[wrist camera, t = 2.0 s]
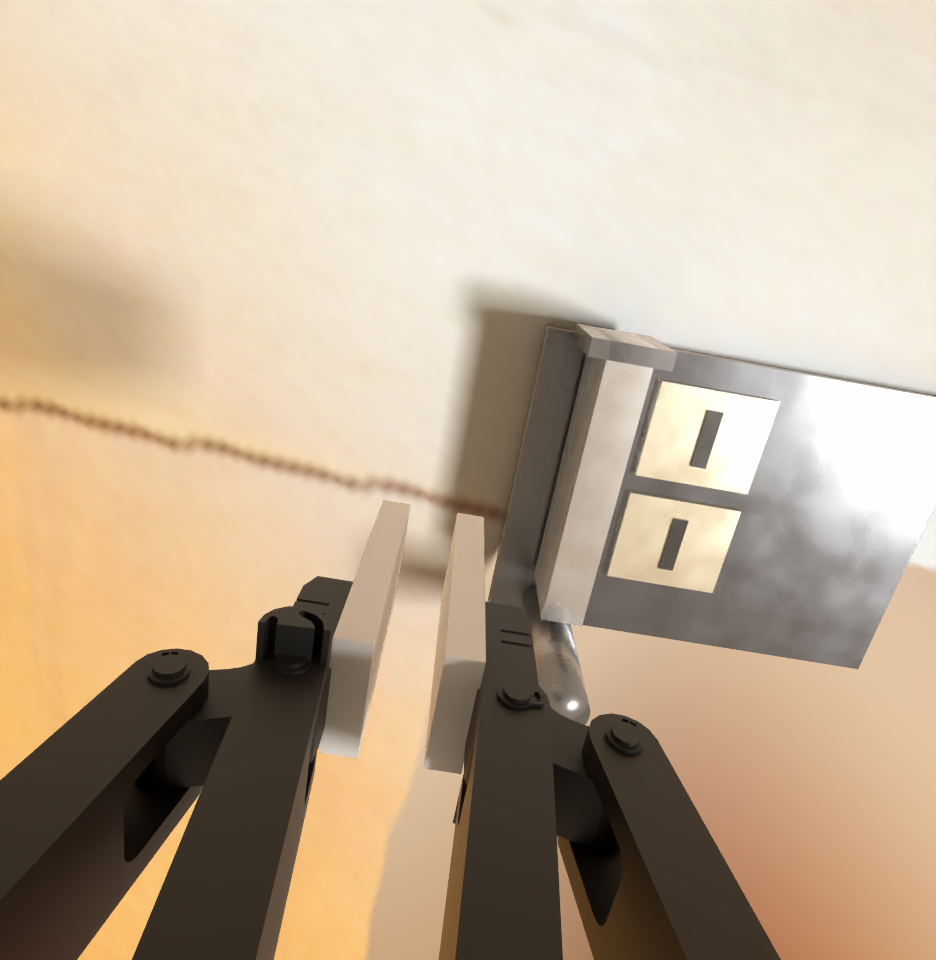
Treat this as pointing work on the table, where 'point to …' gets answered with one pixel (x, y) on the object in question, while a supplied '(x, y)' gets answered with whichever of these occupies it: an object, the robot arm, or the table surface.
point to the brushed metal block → (593, 465)
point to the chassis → (730, 511)
